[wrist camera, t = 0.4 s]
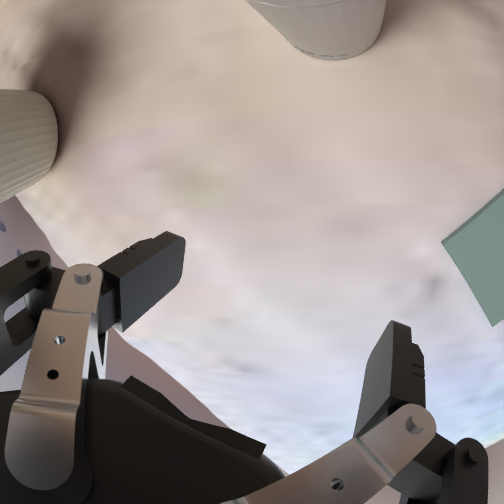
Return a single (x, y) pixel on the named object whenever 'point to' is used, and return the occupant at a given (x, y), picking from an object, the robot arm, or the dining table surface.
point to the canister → (25, 140)
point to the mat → (482, 256)
